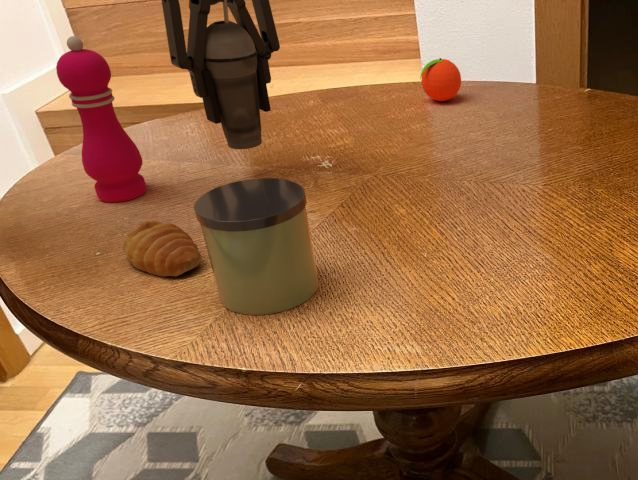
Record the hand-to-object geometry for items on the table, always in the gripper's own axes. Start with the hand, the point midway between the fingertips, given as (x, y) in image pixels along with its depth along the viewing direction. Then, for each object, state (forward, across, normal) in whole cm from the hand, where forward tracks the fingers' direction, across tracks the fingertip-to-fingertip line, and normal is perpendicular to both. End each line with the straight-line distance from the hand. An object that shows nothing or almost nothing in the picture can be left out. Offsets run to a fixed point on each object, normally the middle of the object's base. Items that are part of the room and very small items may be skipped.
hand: (239, 114), depth 98 cm
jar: (+8, -14, -31) cm, 35 cm away
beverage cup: (+4, 0, 0) cm, 4 cm away
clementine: (+8, +40, +8) cm, 42 cm away
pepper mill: (+9, -16, +7) cm, 19 cm away
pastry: (+9, -19, -17) cm, 27 cm away
